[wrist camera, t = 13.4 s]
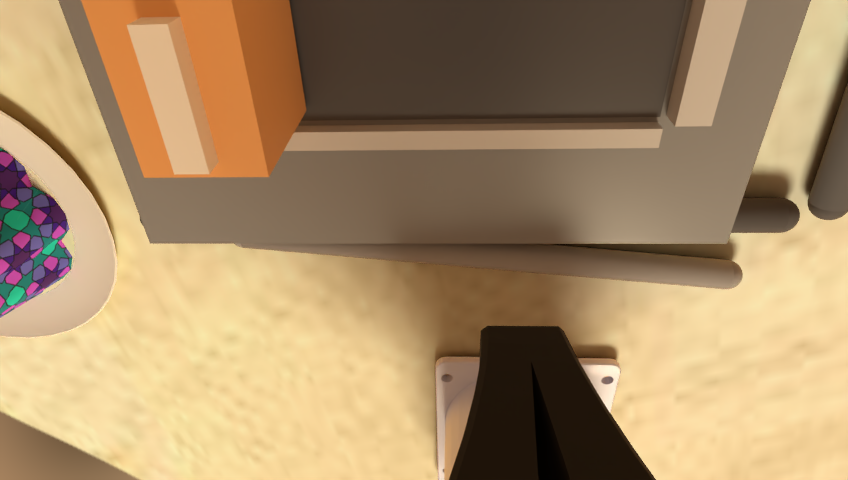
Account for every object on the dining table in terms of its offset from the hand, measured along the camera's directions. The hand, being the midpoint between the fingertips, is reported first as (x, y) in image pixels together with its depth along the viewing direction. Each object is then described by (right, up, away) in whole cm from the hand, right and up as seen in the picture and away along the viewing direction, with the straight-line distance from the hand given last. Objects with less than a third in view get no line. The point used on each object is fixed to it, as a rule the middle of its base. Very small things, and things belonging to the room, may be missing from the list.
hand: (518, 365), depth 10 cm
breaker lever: (-7, +8, +5) cm, 11 cm away
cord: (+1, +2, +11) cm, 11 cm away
